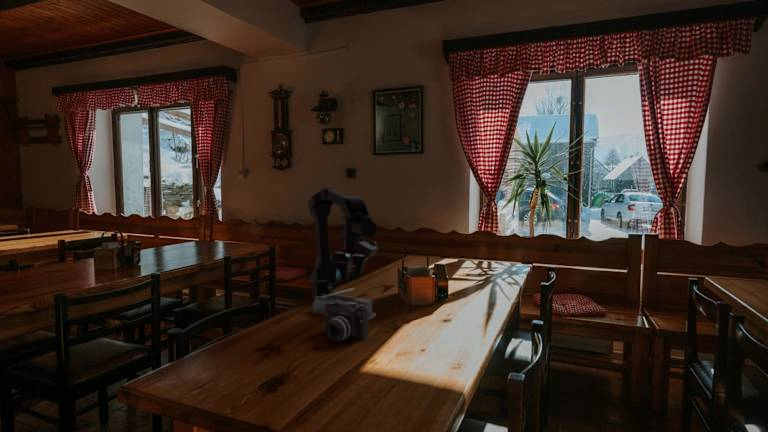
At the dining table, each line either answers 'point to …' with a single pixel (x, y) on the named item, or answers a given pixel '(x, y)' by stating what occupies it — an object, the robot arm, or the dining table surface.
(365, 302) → the clip
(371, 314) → the clip rail
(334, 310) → the camera
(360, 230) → the robot arm
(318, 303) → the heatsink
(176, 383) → the dining table surface
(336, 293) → the light grey flat bar
